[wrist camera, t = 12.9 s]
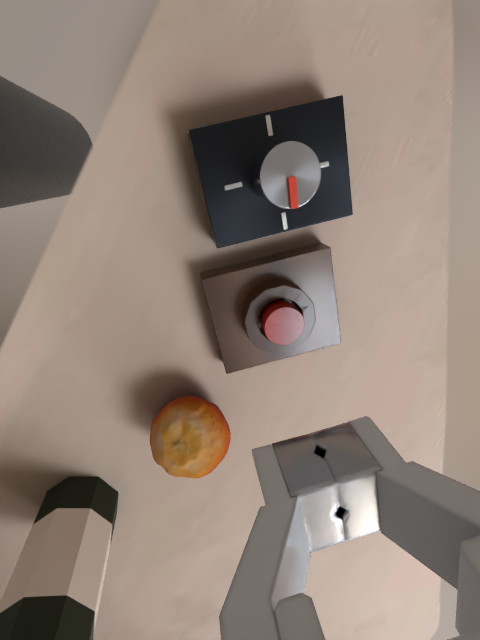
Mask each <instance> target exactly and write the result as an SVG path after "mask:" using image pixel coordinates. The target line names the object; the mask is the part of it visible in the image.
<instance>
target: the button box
mask: <svg viewBox="0 0 480 640" xmlns="http://www.w3.org/2000/svg"><path fill="white" fill-rule="evenodd" d="M200 276H201V281H202V285H203V289H204V292H205V296H206V300H207V303H208V307H209V311H210V314H211V318H212V322H213V326H214V329H215V333H216V337H217V340H218V344H219V348H220V351H221V355H222V359H223V363H224V366H225V370H226V373H227V374H228V373H231V372H235V371H239V370H243V369H246V368H250V367H254V366H257V365H261V364H265V363H268V362H272V361H276V360H280V359H283V358H287V357H291V356H294V355H298V354H302V353H306V352H309V351H313V350H317V349H320V348H324V347H328V346H332V345H335V344H339V343H341V338H340V329H339V321H338V312H337V303H336V294H335V285H334V276H333V268H332V259H331V250H330V247H329V246H327V245H325V244H323V243H319V244H315V245H311V246H307V247H303V248H299V249H295V250H291V251H287V252H283V253H280V254H276V255H272V256H268V257H264V258H260V259H256V260H252V261H248V262H244V263H240V264H236V265H232V266H228V267H224V268H220V269H216V270H212V271H208V272H204V273H200ZM276 301H287V302H290V303H292V304H293V305H294V306H295V307H296V308H297V309H298V310H299V312H300V313H301V314H302V316H303V318H304V323H305V325H304V330H303V332H302V334H301V336H300V337H299V338H298V339H297V340H296V341H294V342H293V343H290V344H287V345H278V344H275V343H273V342H271V341H270V340H269V339H268V338H267V336H266V335H265V333H264V331H263V329H262V327H261V315H262V313H263V311H264V309H265V308H266V307H267V306H268V305H270V304H271V303H273V302H276Z"/></svg>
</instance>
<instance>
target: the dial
mask: <svg viewBox="0 0 480 640" xmlns="http://www.w3.org/2000/svg"><path fill="white" fill-rule="evenodd" d="M320 180H321V167H320V162H319V160H318V158H317V156H316V154H315V153H314V151H313V150H312V149H311V148H310V147H308V146H307V145H305V144H304V143H301V142H297V141H287V142H283V143H280V144H276V145H273V146H270V147H267V148H265V149H264V150H262V151H261V152H260V153H259V154H258V155H257V156H256V158H255V159H254V161H253V164H252V166H251V171H250V181H251V186H252V188H253V191H254V192H255V194H256V195H257V196H258V197H259V198H260V199H261V200H262V201H264V202H266V203H269V204H271V205H274V206H277V207H280V208H284V209H294V208H299V207H300V206H302V205H304V204H306V203H307V202H308V201H309V200H310V199H311V198H312V197H313V196H314V194H315V193H316V191H317V189H318V187H319V184H320Z"/></svg>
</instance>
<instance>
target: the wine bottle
mask: <svg viewBox="0 0 480 640" xmlns="http://www.w3.org/2000/svg"><path fill="white" fill-rule="evenodd" d="M117 502H118V492H117V491H116V490H115V489H113V488H112V487H111V486H109V485H108V484H107V483H106V482H104V481H103V480H102V479H100V478H99V477H67V478H66V479H65V480H63V481H62V482H60V483H59V484H57V485H56V486H54V487H53V488H51V489H50V490H49V491H47V493H46V495H45V498H44V500H43V502H42V505H41V507H40V510H39V512H38V514H37V517H36V519H35V521H34V524H33V526H32V529H31V531H30V533H29V536H28V538H27V540H26V543H25V545H24V548H23V550H22V552H21V555H20V557H19V559H18V562H17V564H16V567H15V569H14V571H13V574H12V576H11V579H10V581H9V583H8V586H7V588H6V590H5V593H4V595H3V598H2V600H1V602H0V640H93V635H94V630H95V624H96V619H97V614H98V609H99V603H100V598H101V593H102V587H103V582H104V577H105V572H106V566H107V561H108V556H109V550H110V545H111V540H112V535H113V529H114V524H115V519H116V514H117Z"/></svg>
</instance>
